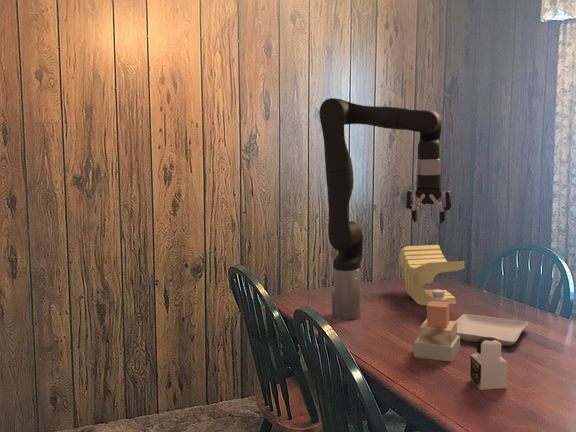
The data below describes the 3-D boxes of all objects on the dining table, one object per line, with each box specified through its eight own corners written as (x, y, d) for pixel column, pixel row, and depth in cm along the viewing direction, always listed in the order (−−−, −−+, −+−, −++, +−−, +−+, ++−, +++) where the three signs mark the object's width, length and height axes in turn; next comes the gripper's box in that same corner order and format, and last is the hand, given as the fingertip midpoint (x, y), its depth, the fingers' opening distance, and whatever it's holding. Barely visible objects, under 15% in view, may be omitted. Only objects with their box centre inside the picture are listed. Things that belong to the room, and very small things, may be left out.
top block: (419, 342, 191) (419, 327, 190) (426, 332, 199) (426, 318, 199) (450, 346, 187) (450, 330, 187) (457, 336, 195) (457, 321, 195)
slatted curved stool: (399, 290, 264) (399, 246, 261) (438, 288, 265) (438, 244, 262) (419, 312, 234) (419, 263, 231) (463, 310, 235) (464, 260, 233)
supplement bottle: (446, 321, 223) (446, 293, 222) (430, 320, 224) (430, 292, 223) (446, 316, 228) (446, 288, 227) (430, 315, 229) (430, 288, 228)
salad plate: (529, 331, 212) (529, 320, 211) (515, 352, 194) (515, 340, 193) (463, 322, 222) (463, 312, 222) (443, 341, 204) (443, 330, 204)
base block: (413, 357, 191) (413, 342, 191) (423, 345, 201) (423, 331, 201) (452, 362, 187) (452, 347, 186) (459, 350, 197) (460, 335, 196)
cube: (427, 326, 191) (426, 305, 191) (430, 320, 196) (430, 300, 196) (446, 327, 189) (446, 307, 188) (449, 322, 194) (449, 302, 193)
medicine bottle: (469, 379, 174) (470, 335, 172) (496, 377, 174) (497, 334, 173) (480, 390, 167) (480, 344, 165) (507, 388, 167) (508, 343, 166)
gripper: (404, 173, 214) (404, 223, 216) (448, 174, 208) (448, 225, 210) (410, 171, 221) (410, 219, 223) (453, 172, 215) (452, 221, 217)
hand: (428, 222), depth 217 cm, fingers open, 8 cm apart
